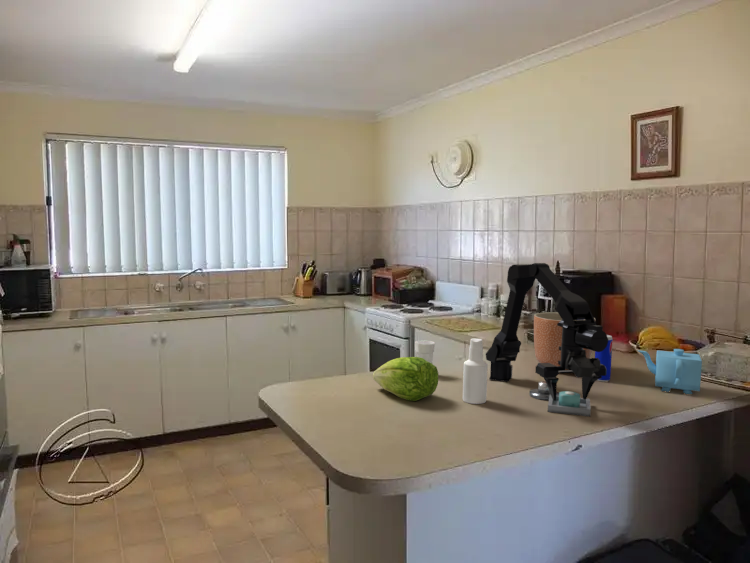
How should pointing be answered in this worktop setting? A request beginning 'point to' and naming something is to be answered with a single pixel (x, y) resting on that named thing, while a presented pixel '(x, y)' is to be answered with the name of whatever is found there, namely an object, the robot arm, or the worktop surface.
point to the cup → (425, 350)
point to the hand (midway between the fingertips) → (569, 399)
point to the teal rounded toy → (569, 399)
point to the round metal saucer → (541, 391)
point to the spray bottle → (475, 374)
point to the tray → (582, 411)
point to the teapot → (676, 370)
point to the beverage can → (606, 359)
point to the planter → (549, 338)
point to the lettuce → (408, 377)
